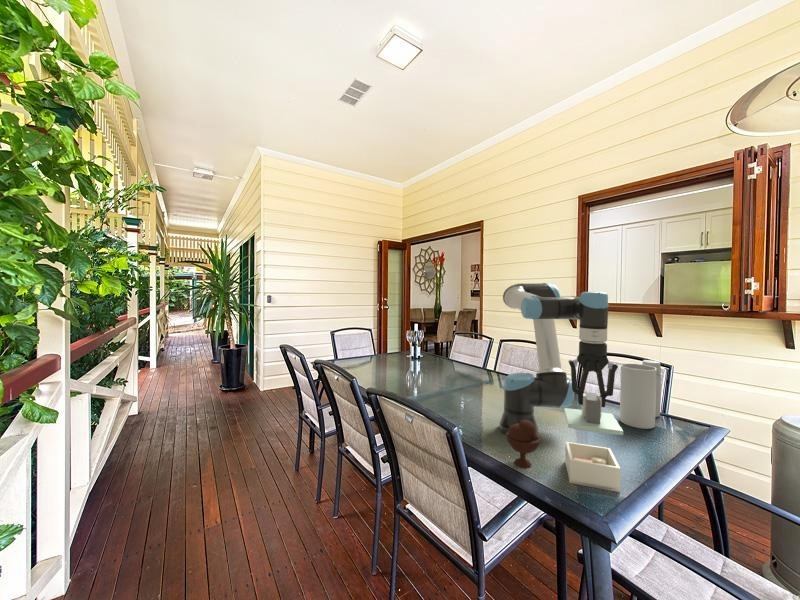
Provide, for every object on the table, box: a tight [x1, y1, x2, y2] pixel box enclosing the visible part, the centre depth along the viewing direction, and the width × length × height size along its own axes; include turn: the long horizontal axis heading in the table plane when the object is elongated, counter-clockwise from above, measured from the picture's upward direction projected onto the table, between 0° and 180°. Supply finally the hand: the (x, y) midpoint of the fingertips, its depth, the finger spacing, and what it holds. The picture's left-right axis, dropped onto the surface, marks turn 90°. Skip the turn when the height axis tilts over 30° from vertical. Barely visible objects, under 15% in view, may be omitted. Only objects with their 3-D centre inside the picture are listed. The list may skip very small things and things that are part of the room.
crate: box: [564, 441, 622, 493], centre depth 104 cm, size 13×13×7 cm
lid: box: [563, 391, 624, 436], centre depth 104 cm, size 14×14×9 cm
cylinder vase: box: [619, 363, 656, 430], centre depth 144 cm, size 12×12×25 cm
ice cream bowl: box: [505, 420, 542, 469], centre depth 111 cm, size 11×11×15 cm
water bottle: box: [641, 359, 663, 418], centre depth 154 cm, size 9×8×25 cm
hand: (591, 415), depth 104 cm, fingers closed on lid, 3 cm apart
